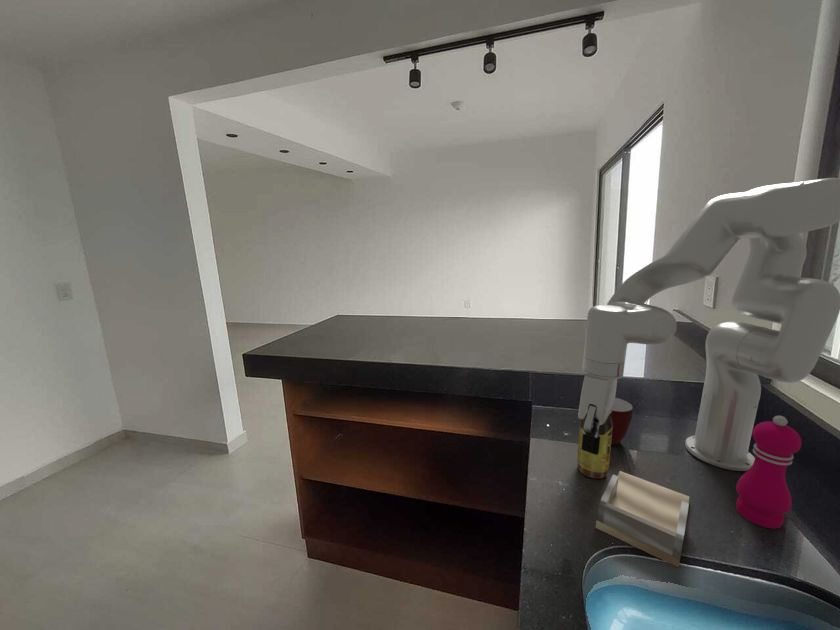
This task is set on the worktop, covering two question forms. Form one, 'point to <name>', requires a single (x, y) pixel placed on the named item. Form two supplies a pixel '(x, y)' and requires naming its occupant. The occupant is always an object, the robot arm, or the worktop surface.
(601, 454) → the sauce bottle
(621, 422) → the mug
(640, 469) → the worktop surface
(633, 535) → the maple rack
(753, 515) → the pepper mill
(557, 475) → the worktop surface
